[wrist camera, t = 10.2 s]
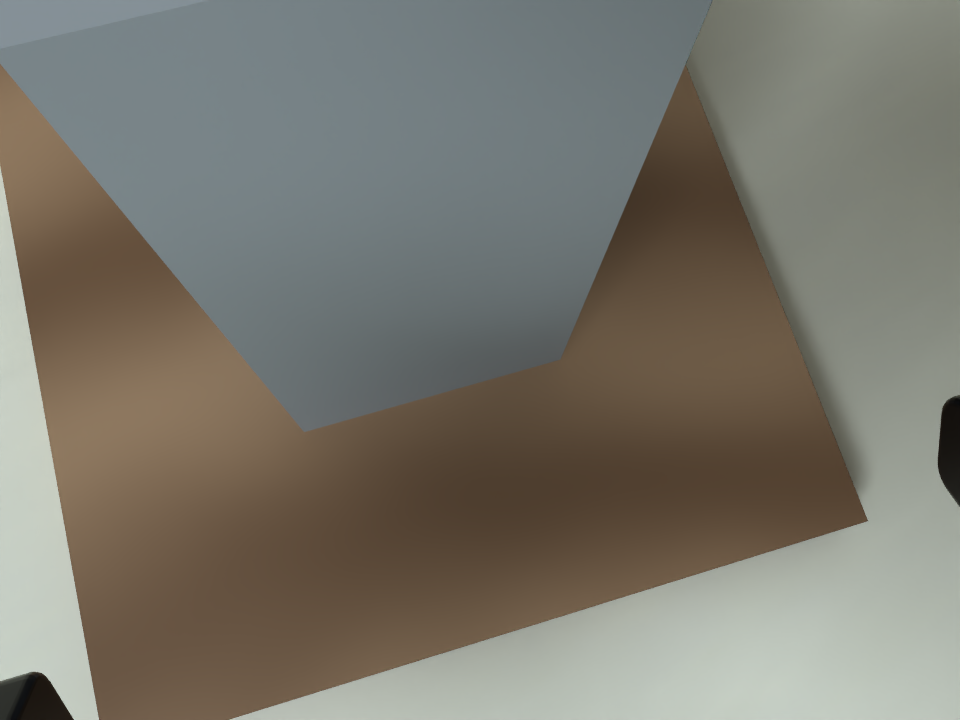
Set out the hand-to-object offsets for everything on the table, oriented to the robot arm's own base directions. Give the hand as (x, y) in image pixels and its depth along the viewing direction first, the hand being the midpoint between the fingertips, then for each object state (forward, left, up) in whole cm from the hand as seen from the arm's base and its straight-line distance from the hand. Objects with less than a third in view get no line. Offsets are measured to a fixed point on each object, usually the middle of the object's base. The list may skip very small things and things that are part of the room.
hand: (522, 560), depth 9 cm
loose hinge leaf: (+4, -3, -8) cm, 10 cm away
